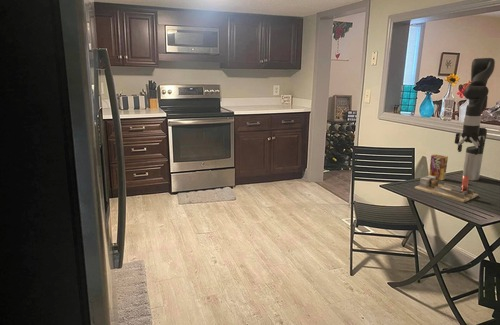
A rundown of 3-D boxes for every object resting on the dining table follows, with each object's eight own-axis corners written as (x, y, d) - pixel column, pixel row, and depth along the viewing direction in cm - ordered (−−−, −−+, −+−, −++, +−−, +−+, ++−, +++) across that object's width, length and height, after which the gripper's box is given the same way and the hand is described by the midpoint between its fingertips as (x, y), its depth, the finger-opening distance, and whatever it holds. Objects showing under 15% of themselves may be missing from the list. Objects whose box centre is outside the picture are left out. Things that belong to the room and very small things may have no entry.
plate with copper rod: (457, 191, 202) (460, 172, 199) (469, 194, 196) (472, 175, 194) (450, 193, 198) (453, 175, 195) (462, 197, 192) (465, 178, 190)
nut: (432, 185, 212) (433, 179, 211) (439, 187, 209) (440, 181, 208) (428, 187, 210) (429, 180, 209) (435, 188, 207) (436, 182, 206)
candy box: (445, 179, 227) (448, 156, 223) (442, 180, 224) (445, 157, 220) (431, 176, 233) (434, 153, 229) (428, 177, 231) (431, 155, 227)
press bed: (429, 183, 220) (431, 173, 218) (477, 196, 197) (479, 185, 195) (414, 188, 211) (415, 178, 210) (463, 202, 189) (464, 191, 187)
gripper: (489, 124, 184) (485, 154, 189) (461, 121, 196) (457, 149, 200) (482, 126, 180) (478, 157, 185) (454, 123, 192) (450, 151, 196)
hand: (467, 153), depth 193 cm, fingers open, 8 cm apart
